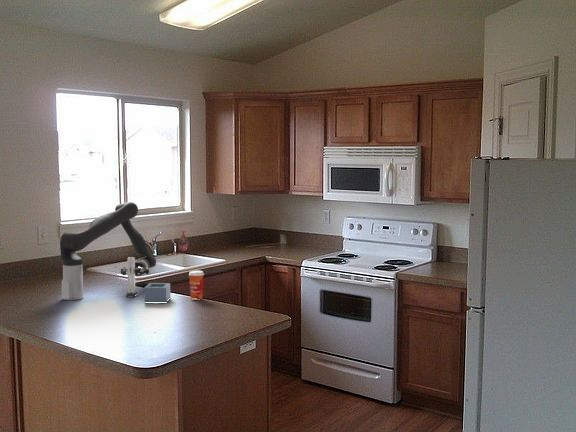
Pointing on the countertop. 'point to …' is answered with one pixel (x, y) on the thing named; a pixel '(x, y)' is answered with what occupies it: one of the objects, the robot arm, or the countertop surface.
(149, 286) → the grey open box
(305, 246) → the countertop surface
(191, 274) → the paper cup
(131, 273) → the white upright rod
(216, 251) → the countertop surface
